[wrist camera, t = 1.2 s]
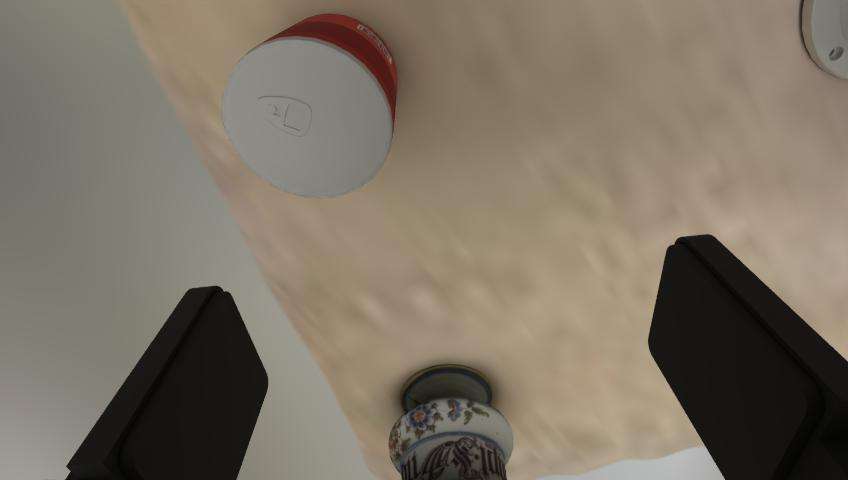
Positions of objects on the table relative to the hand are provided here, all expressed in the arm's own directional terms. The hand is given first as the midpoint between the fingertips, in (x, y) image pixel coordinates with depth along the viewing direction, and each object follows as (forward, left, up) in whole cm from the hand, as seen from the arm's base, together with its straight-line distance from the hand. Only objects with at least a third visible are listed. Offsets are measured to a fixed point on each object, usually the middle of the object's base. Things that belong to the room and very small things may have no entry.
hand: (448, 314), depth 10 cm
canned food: (+6, +1, -24) cm, 25 cm away
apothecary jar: (-6, +33, -24) cm, 41 cm away
